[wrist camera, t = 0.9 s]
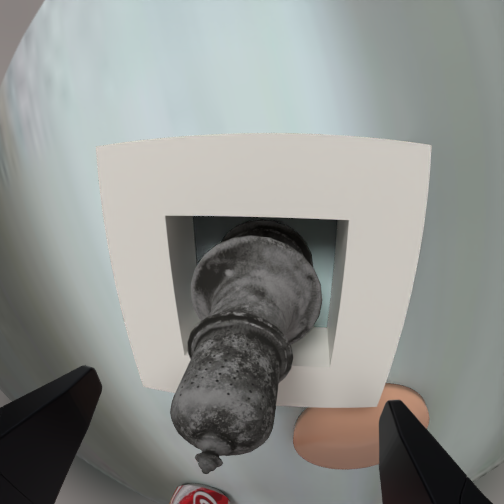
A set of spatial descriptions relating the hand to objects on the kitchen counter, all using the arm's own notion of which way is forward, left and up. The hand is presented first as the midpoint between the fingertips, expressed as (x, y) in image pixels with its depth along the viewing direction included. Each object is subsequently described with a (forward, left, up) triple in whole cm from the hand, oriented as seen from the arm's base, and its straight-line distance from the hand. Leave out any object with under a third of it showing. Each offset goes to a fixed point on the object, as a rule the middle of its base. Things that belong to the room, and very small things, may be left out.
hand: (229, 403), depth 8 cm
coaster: (-8, +14, -10) cm, 19 cm away
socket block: (0, 0, -10) cm, 10 cm away
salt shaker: (0, 0, -10) cm, 10 cm away
